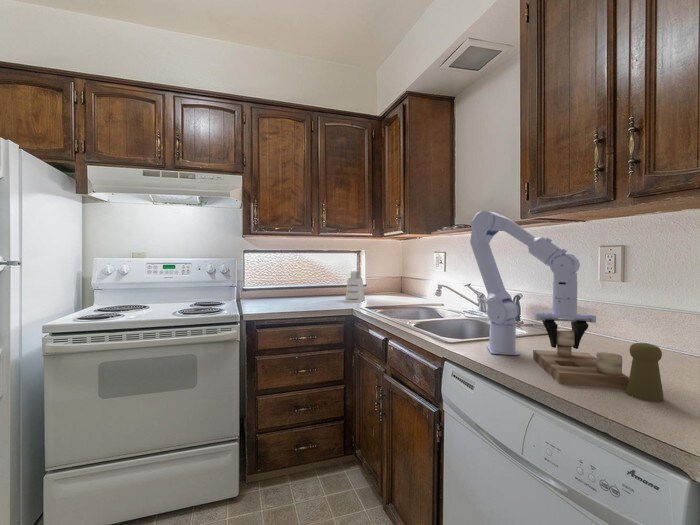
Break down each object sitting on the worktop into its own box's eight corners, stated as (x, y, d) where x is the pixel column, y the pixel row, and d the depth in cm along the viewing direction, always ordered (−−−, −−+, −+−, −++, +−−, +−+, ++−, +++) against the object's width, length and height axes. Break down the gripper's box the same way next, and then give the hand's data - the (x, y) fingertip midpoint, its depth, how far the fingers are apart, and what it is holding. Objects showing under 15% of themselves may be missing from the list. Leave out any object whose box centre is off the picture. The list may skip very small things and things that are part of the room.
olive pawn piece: (626, 388, 77) (627, 339, 77) (663, 395, 74) (663, 343, 73) (626, 396, 73) (626, 344, 73) (665, 404, 69) (665, 349, 69)
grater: (344, 303, 220) (344, 271, 220) (349, 301, 230) (349, 271, 230) (360, 303, 217) (360, 271, 216) (365, 301, 227) (365, 271, 226)
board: (533, 358, 100) (533, 336, 100) (587, 361, 97) (587, 338, 97) (559, 383, 80) (559, 355, 80) (628, 388, 77) (628, 359, 77)
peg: (551, 351, 98) (551, 328, 98) (570, 352, 97) (570, 329, 97) (557, 356, 93) (558, 332, 93) (577, 357, 92) (577, 333, 92)
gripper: (540, 299, 93) (540, 349, 93) (601, 300, 90) (601, 352, 90) (532, 296, 100) (532, 343, 100) (589, 297, 96) (588, 346, 97)
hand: (564, 347), depth 95 cm, fingers closed on peg, 5 cm apart
